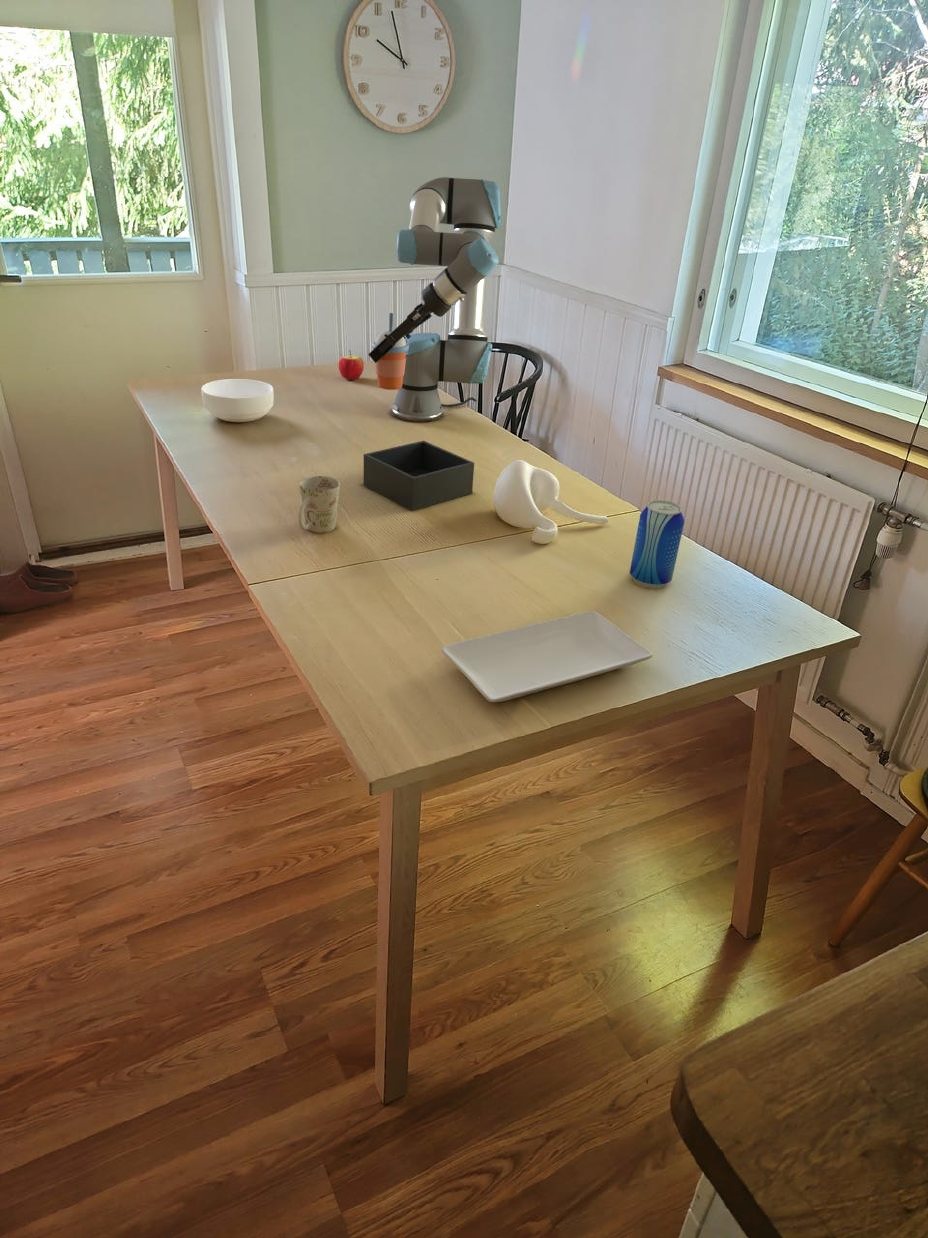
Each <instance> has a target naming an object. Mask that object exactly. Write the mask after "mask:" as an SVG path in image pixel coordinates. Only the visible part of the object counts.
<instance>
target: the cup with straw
mask: <svg viewBox="0 0 928 1238" xmlns="http://www.w3.org/2000/svg"><path fill="white" fill-rule="evenodd" d="M388 314H389V315H388V317H389V318H388V319H389V320H388V330H385V331H383V332H381V333H379V334H378V336H377V337H376V338H375V341H373V343H372V345H371V346H372V350H373V349H375V348H376V347H377V346H378V345H379V344H380V343H381V342H382V341H383V340H384V339H385V338H386V337H385V336H384V335H385V334H387V335H389V334H390V333H391V332H393V331H394V313H393V312H389V313H388ZM391 337H392V336H391ZM408 350H409V346H408V344H407V343H406V341H405V339H404V337H403V338H401V339H400V340H399V341H398V342H397V343H396V344H395V346H394V347H393V348H391V349H390V350H389V351H388V352H387V353H386V354H385V355H384V356H383V357H382V358H381V359H380V360H379V361H378V362H376V363H375V362H374V364H375V374H376V379H377V387H378V388H380V389H383V390H389V391H390V390H391V391H394V390H398V389H400V388H401V387H402V383H403V376H404V372H405V363H406V357H405V356H406V352H407V351H408Z"/></svg>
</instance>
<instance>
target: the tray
mask: <svg viewBox="0 0 928 1238" xmlns="http://www.w3.org/2000/svg"><path fill="white" fill-rule="evenodd" d="M441 653H442V654H443V655H444V656H445V657H446V658H447V659H448V660H449V661H450V662H451V663H452V664H453V665H454V666H455V667H456V668H457V669H458V670H459V671H460V673H462V674H463V675H464V676H465V677H466V678H467V680H468V681H469V682H470V683H471V685H473V687H475V689H476V690H477V691H478V692H479V693H480V694H481V695H482V697H484V699H486V701H488V702H490V703H501V702H503V703H504V702H508V701H511V700H514V699H518V698H520V697H525V696H527V695H528V696H529V695H531V694H535V693H538V692H542V691H544V690H549V689H553V688H555V687H560V686H564V685H566V684H569V683H573V682H577V681H580V680H584V679H587V678H590V677H594V676H598V675H601V674H606V673H608V672H613V671H615V670H619V669H622V668H623V669H624V668H626V667H629V666H632V665H636V664H639V663H643V662H645V661H647V660H649V659H650V660H651V658H653V653H652V652H651V651H650V650H649V649H647V648H646V647H645V646H643V645H642V644H641V643H639V642H638V641H637V640H635V639H634V638H633V637H631V636H630V635H629V634H628V633H626V632H625V631H624V630H622V629H620V628H619V627H618V626H617V625H616V624H614V623H612V622H611V621H610V620H608V619H607V618H606V617H605V616H603V615H602V614H600V613H599V612H597V611H595V610H586V611H582V612H578V613H574V614H571V615H567V616H562V617H558V618H554V619H550V620H546V621H545V620H544V621H542V622H538V623H534V624H529V625H526V626H521V627H517V628H513V629H509V630H503V631H500V632H496V633H491V634H488V635H487V634H486V635H483V636H479V637H475V638H474V637H473V638H471V639H467V640H462V641H457V642H453V643H450V644H445V645H443V646H442V647H441Z"/></svg>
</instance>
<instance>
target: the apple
mask: <svg viewBox="0 0 928 1238" xmlns="http://www.w3.org/2000/svg"><path fill="white" fill-rule="evenodd" d="M348 351H349V354H350V355H346V356H345V355H344V356H341V357H340V358H339V359H338V364H337V365H338V370H339V371H338V372H339V373H340V375H341V376H342V378H344V379H345V380H348V381H356V380H358V379H359V378H360V377H361V376H362V375H363V371H364V368H365V367H364V365H365V364H364V360H363V358H362V357H361V356H358V355H352V353H351V350H350V349H349V350H348Z"/></svg>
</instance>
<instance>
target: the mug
mask: <svg viewBox="0 0 928 1238" xmlns="http://www.w3.org/2000/svg"><path fill="white" fill-rule="evenodd" d="M340 490H341V482H340V481H339V480H338V479H336V478H334V477H330V476H326V475H313V476H309V477H305V478H303V479H302V480H300V482H299V491H300V496H301V505H300V507H299V511H298V524H299V527H300V528H301V529H302V530H308V531H310V532H313V533H318V534H324V533H329V532H332V531H334V530H335V529H336V524H337V517H338V516H337V515H338V507H339V498H340V493H341V492H340ZM304 520H305V521H304Z"/></svg>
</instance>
